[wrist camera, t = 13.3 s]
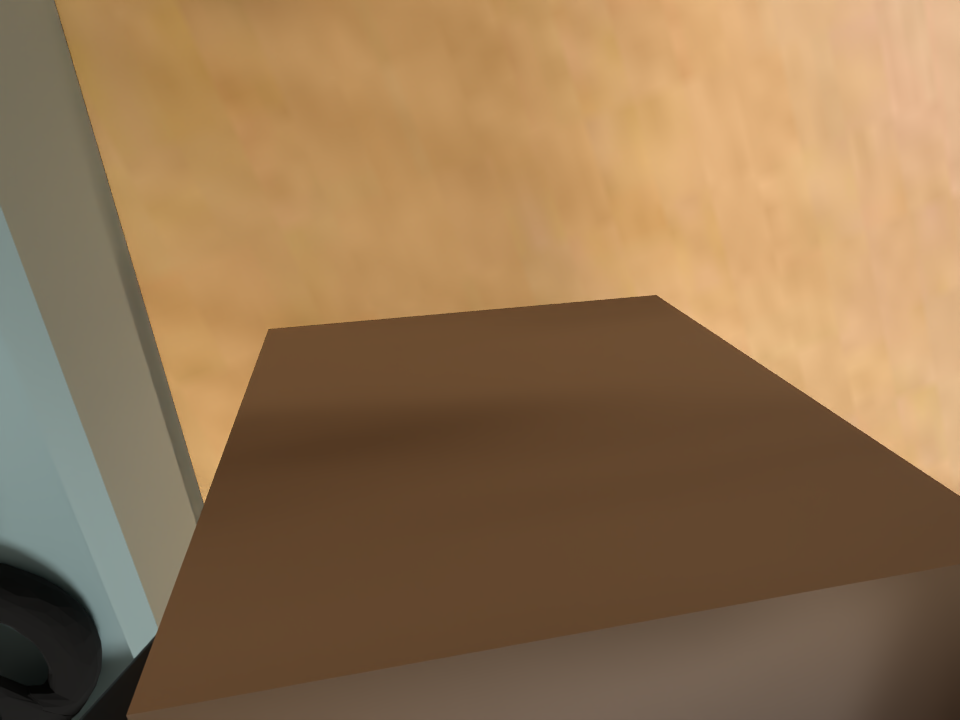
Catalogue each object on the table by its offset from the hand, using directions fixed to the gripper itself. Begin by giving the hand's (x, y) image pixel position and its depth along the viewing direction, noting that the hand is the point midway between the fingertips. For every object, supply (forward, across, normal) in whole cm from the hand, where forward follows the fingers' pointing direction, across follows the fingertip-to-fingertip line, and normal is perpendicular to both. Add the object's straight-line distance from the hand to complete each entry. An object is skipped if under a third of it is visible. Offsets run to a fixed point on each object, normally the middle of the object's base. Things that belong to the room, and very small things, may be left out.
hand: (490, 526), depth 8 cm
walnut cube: (+1, 0, 0) cm, 1 cm away
